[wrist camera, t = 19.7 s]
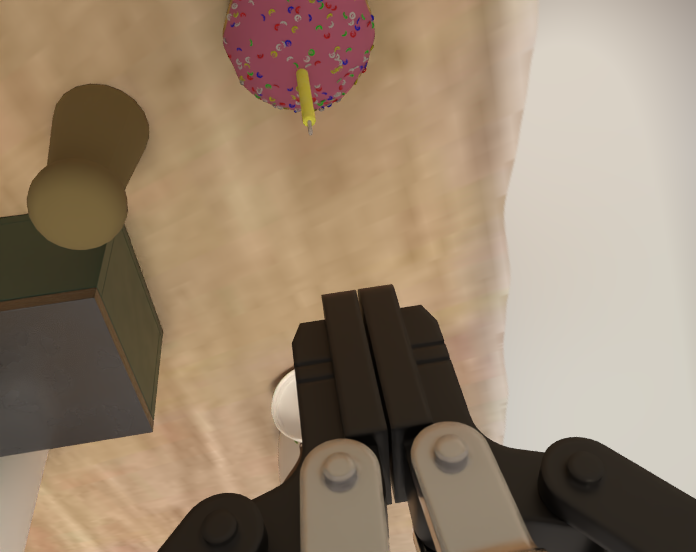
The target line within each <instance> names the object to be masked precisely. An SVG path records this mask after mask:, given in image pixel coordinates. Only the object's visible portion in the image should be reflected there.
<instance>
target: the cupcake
mask: <svg viewBox="0 0 696 552" xmlns="http://www.w3.org/2000/svg"><path fill="white" fill-rule="evenodd" d="M373 20H374V17H373V15H371V11H370V8H369V5H368V2H367V0H231V1H230V4H229V8H228V11H227V15H226V19H225V23H224V28H223V44H224V48H225V50H226V53H227V55H228V57H229V58H230V60H231V62H232V64H233V66H234V68H235V71H236V73H237V76H238V78H239V80H240V83H241V85H244V87H245V88H246V89H247V90H249V91H250V92H251V93H252V94H254V95H255V96H256V97H257V98H258V99H260V100H263V101H264V102H267V103H269V104H272V105H273V107H275V108H276V106H277V107H278V109H290V110H295V111H294V112H295V113H296V112H300V111H301V112H302V119H303V124H304V125H305V126H308V132H309V135H312V133H313V132H312V126H313V125H314V124H315V121H316V120H315V114H314V111H316V110H317V109H319V111H324V109H325V108H324V107H325V106H327V107H330V106H331V105H332V103H334V102H340V100H341V98H342V97H343V96H344V95H345V94H346V93H347V92H348V91H349V90H350V89H351V87H352V86H353V85H356V83H357V80H358V78H359V77H360V75H361V74H362V73H364V72H365V71H366V66H367V63H368V59H369V55H370V51H371V50H372V49H373V47H374V45H372V44H373V41H374V37H375V31H374V23H373ZM364 70H365V71H364ZM338 100H339V101H338ZM279 107H280V108H279ZM320 108H321V109H322V108H323V110H321V109H320Z"/></svg>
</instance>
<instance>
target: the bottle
mask: <svg viewBox="0 0 696 552" xmlns="http://www.w3.org/2000/svg"><path fill="white" fill-rule="evenodd" d="M48 451H49V449H46V450H40V451H34V452H28V453H22V454H16V455H10V456H4V457H0V552H24V550H25V545H26V541H27V537H28V533H29V529H30V525H31V521H32V517H33V513H34V508H35V504H36V500H37V496H38V492H39V488H40V484H41V480H42V475H43V471H44V467H45V463H46V459H47V455H48Z"/></svg>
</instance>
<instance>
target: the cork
mask: <svg viewBox="0 0 696 552" xmlns="http://www.w3.org/2000/svg"><path fill="white" fill-rule="evenodd" d="M148 139H149V124H148V122H147V119H146V116H145V114H144V111H143V110H142V109H141V108H140V107H139V105H138V104H137V103H136V102H135V100H134V99H132V98H131V97H129V96H128V95H127V94H125V93H124V92H122V91H120V90H118V89H115V88H112V87H110V86H107V85H97V84H88V85H83V86H79V87H75V88H74V89H72V90H70V91H69V92H67V93H65V94H64V95H63V96H62V98H61V99H60V100H59V102H58V103H57V104H56V107H55V111H54V115H53V120H52V129H51V137H50V146H49V154H48V162H47V166H46V167H45V168H44V169H42V170H41V171H40V172H39V173H38V175H37V176H36V177H35V178H34V180H33V181H32V183H31V185H30V188H29V192H28V196H27V207H28V213H29V217H30V219H31V221H32V223H33V224H34V226H35V228H36V229H37V230H38V231H39V232H40V233H41V234H42V235H43V236H44V237H45V238H46V239H47V240H49V241H51V242H52V243H54V244H56V245H58V246H61V247H64V248H68V249H72V250H88V249H92V248H97V247H100V246H102V245H104V244H106V243H107V242H109V241H111V240H112V239H113V238H114V237H115V236H116V235H117V234H118V233H119V232H120V230H121V229H122V227H123V225H124V222H125V219H126V217H127V211H128V206H127V196H126V193H125V188H126V186H127V184H128V182H129V180H130V178H131V176H132V174H133V172H134V170H135V168H136V166H137V164H138V162H139V160H140V158H141V156H142V154H143V152H144V150H145V147H146V144H147V142H148Z"/></svg>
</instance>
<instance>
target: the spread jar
mask: <svg viewBox="0 0 696 552" xmlns="http://www.w3.org/2000/svg"><path fill="white" fill-rule="evenodd" d="M271 413H272V417H273V420H274V423H275V425H276V427H277V428H278V429H279V431H280V432H281V433H280V436H279V443H278V466H279V480H280V485H281V484H282V483H284V482H285V481H286V480H287V479H288V478H289V477H290V476H291V475H292V474H293V472H294V471H295V470H296V468H297V466H298V464H299V462H300V459H301V456H302V436H301V426H300V416H299V407H298V397H297V387H296V378H295V369H294V370H292V371H291V372H289V373H288V374H287V375H285V376H284V377H283V378H282V380H281V381H280V382H279V384H278V385H277V387H276V389H275V391H274V394H273V397H272V403H271Z"/></svg>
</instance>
